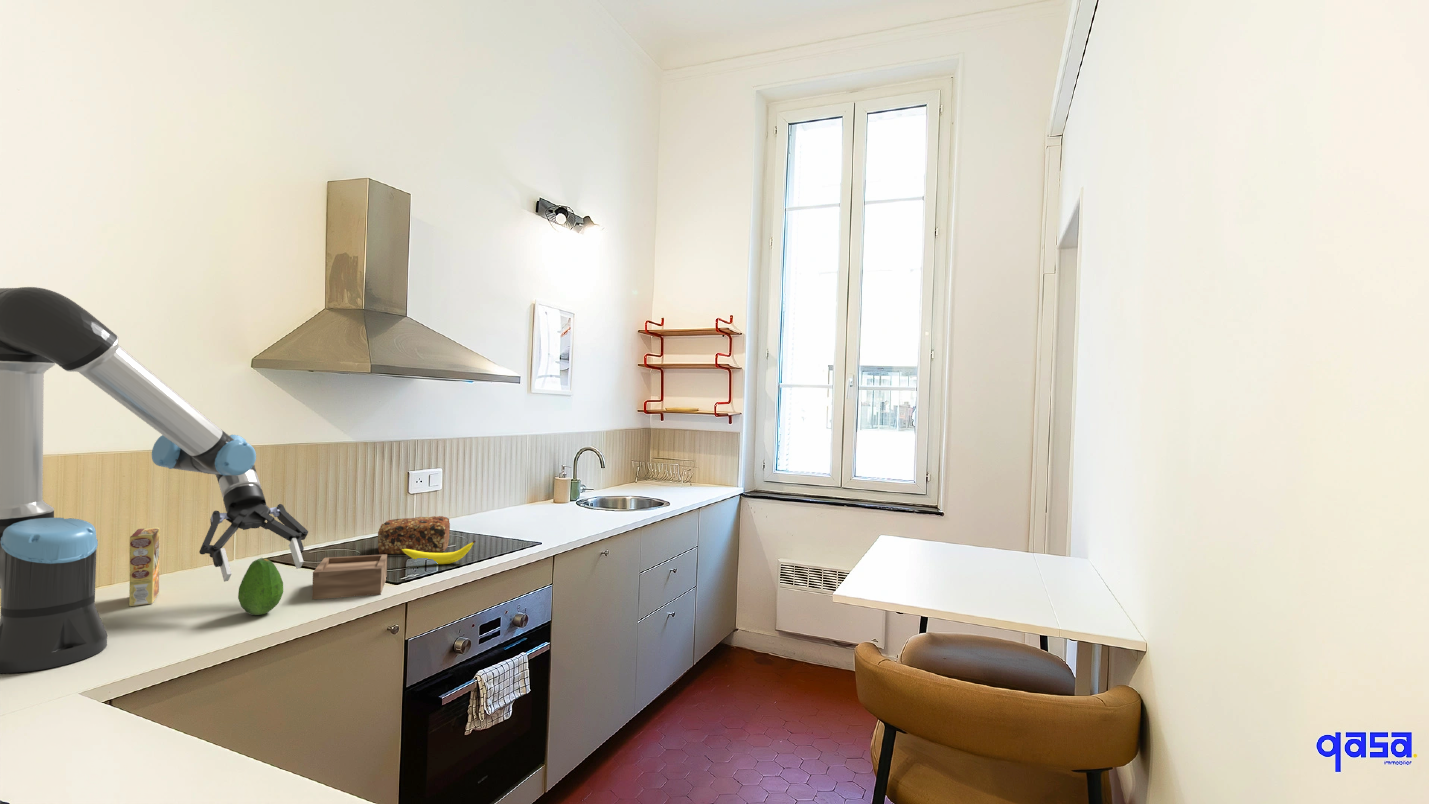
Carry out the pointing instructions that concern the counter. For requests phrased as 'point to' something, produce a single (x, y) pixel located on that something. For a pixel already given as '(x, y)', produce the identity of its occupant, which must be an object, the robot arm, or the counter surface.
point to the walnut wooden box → (349, 576)
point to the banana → (440, 555)
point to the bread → (414, 535)
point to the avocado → (260, 587)
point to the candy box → (144, 566)
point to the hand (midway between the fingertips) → (265, 571)
